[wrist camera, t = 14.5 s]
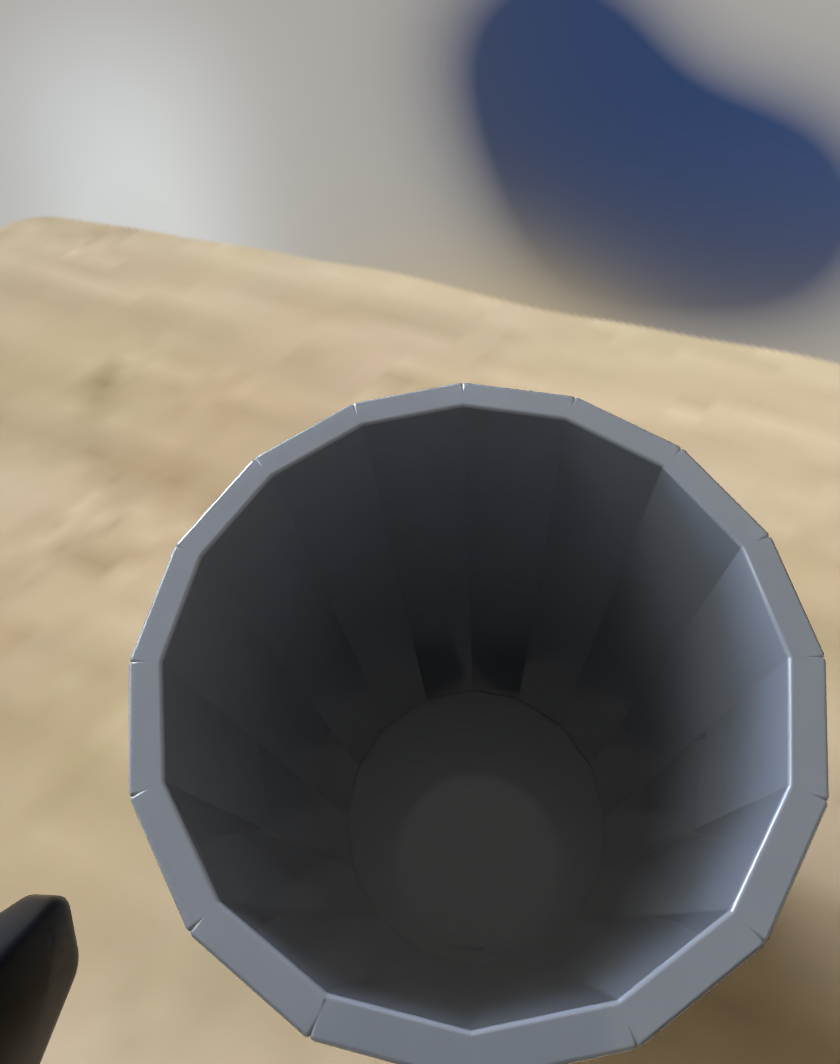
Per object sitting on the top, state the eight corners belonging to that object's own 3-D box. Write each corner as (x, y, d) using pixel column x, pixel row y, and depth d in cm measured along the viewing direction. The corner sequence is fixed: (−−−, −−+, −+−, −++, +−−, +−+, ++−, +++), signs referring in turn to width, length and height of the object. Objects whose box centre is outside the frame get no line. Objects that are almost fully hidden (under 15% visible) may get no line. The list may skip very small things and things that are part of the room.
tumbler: (665, 781, 19) (934, 566, 8) (521, 1050, 16) (608, 1306, 5) (437, 638, 21) (388, 305, 10) (282, 859, 18) (-14, 754, 7)
